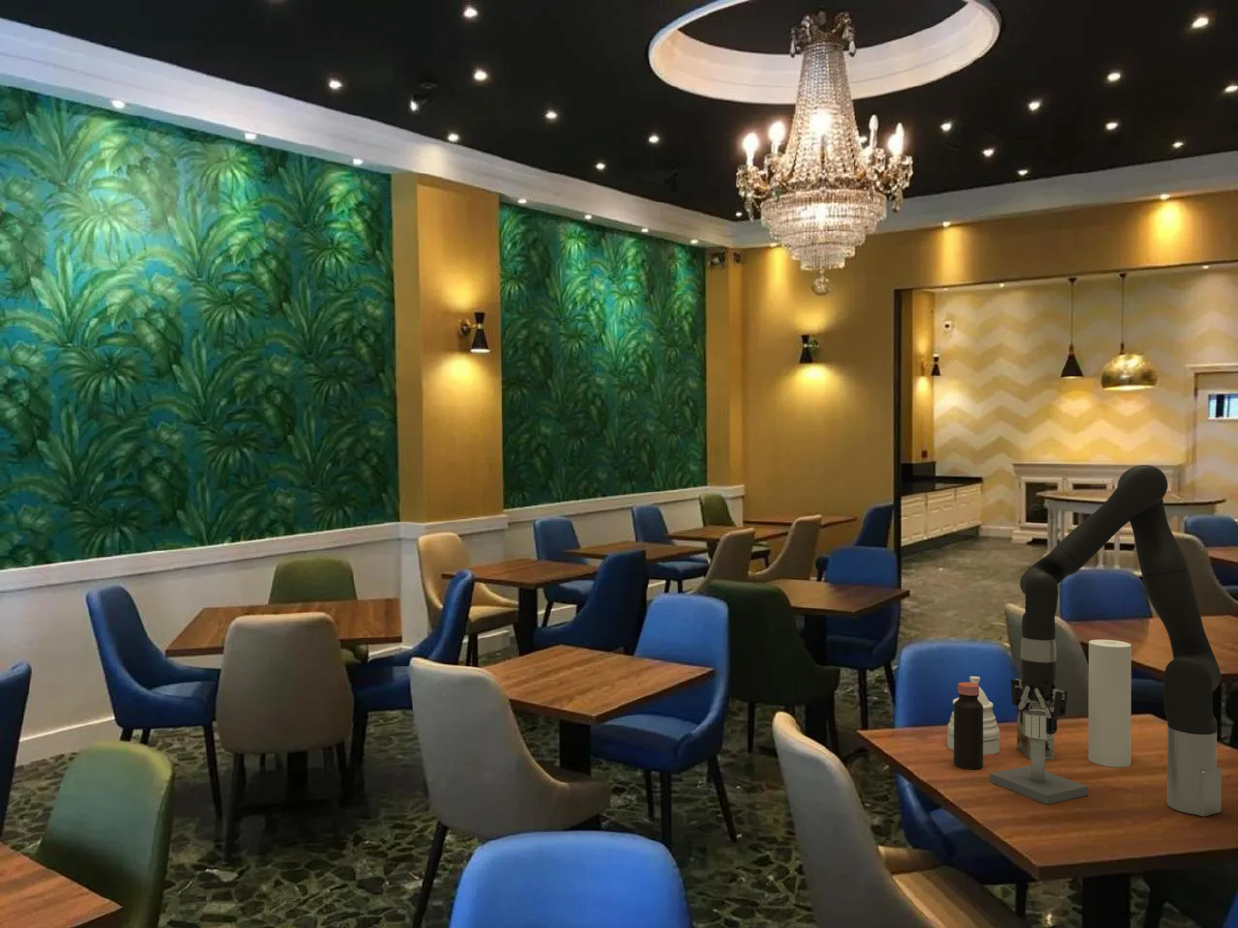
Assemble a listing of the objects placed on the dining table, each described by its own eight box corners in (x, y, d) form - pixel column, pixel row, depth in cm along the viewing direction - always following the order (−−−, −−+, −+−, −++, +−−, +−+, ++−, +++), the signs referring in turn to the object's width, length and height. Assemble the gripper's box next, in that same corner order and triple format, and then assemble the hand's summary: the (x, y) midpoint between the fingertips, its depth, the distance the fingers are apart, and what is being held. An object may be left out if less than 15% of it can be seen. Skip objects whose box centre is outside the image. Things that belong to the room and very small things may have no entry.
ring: (1059, 736, 217) (1059, 714, 217) (1039, 740, 214) (1039, 718, 214) (1036, 729, 223) (1036, 707, 223) (1016, 732, 220) (1016, 711, 220)
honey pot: (952, 737, 258) (952, 671, 258) (1003, 744, 251) (1003, 676, 251) (942, 750, 247) (942, 681, 247) (995, 758, 240) (995, 687, 240)
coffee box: (1015, 748, 248) (1015, 686, 248) (1040, 748, 248) (1040, 687, 248) (1030, 759, 239) (1030, 695, 239) (1055, 759, 239) (1056, 696, 239)
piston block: (1087, 795, 214) (1088, 744, 214) (1046, 804, 209) (1047, 752, 208) (1029, 773, 229) (1029, 725, 228) (989, 781, 223) (989, 732, 223)
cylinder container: (1105, 752, 244) (1105, 636, 244) (1139, 763, 236) (1139, 642, 235) (1079, 758, 240) (1080, 639, 240) (1113, 769, 232) (1113, 646, 231)
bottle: (989, 766, 234) (989, 685, 233) (970, 771, 230) (970, 688, 230) (966, 758, 240) (966, 679, 239) (947, 763, 236) (947, 683, 236)
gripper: (1076, 661, 213) (1076, 736, 214) (1024, 649, 226) (1024, 719, 227) (1053, 665, 210) (1052, 740, 210) (1001, 652, 223) (1001, 723, 223)
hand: (1038, 729), depth 218 cm, fingers closed on ring, 6 cm apart
